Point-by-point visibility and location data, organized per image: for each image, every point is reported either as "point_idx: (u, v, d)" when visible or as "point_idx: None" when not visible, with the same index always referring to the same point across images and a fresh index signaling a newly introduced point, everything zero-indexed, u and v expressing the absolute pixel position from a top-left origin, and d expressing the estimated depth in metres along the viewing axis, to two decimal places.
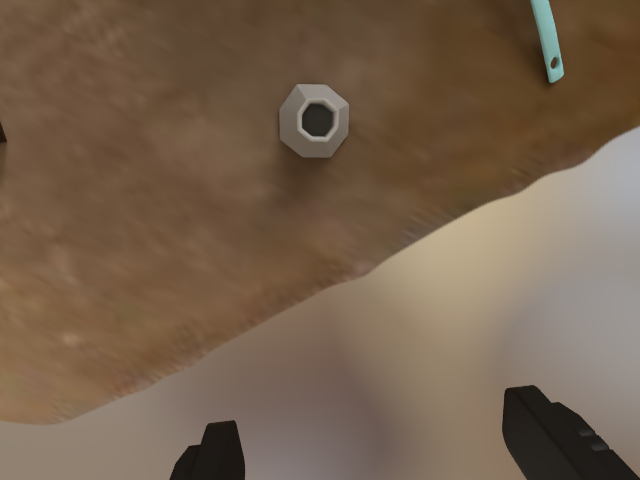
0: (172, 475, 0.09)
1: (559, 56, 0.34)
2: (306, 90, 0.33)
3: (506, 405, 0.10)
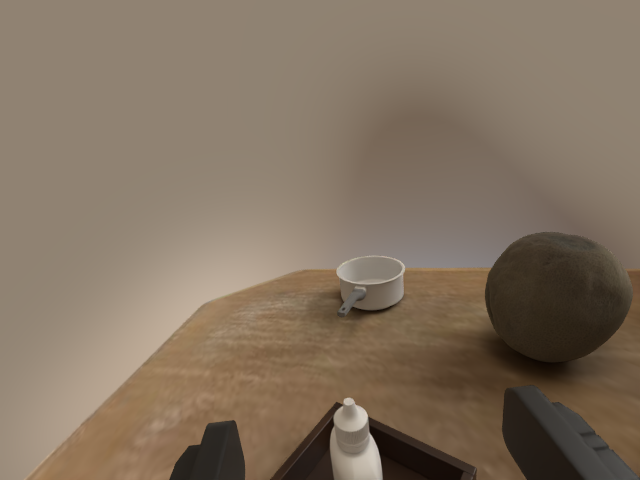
0: (172, 475, 0.09)
1: None
2: None
3: (506, 405, 0.10)
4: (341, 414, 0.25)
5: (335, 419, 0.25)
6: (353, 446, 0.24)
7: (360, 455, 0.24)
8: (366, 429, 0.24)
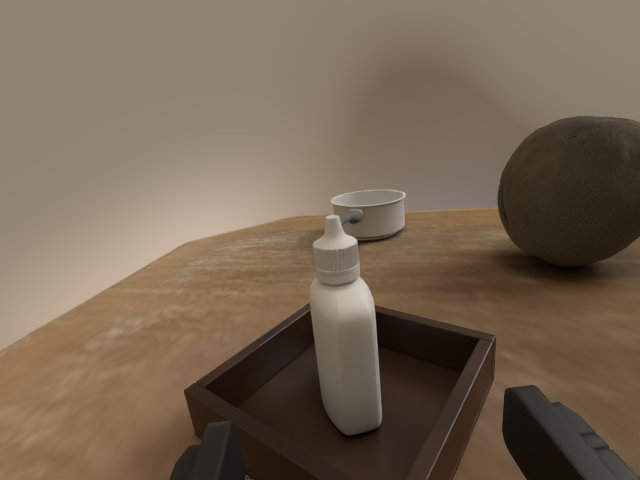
0: (172, 475, 0.09)
1: None
2: None
3: (506, 405, 0.10)
4: None
5: (314, 243, 0.19)
6: (337, 274, 0.18)
7: (347, 289, 0.19)
8: (355, 253, 0.19)
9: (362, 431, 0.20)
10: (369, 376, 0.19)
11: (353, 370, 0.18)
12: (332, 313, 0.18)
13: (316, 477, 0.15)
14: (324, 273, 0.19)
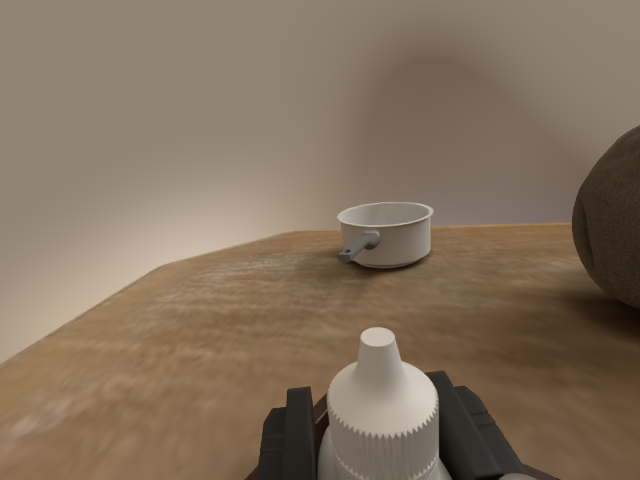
0: (263, 432, 0.10)
1: None
2: None
3: None
4: (352, 381, 0.08)
5: (332, 397, 0.08)
6: None
7: None
8: (435, 430, 0.07)
9: None
10: None
11: None
12: None
13: None
14: (357, 479, 0.07)
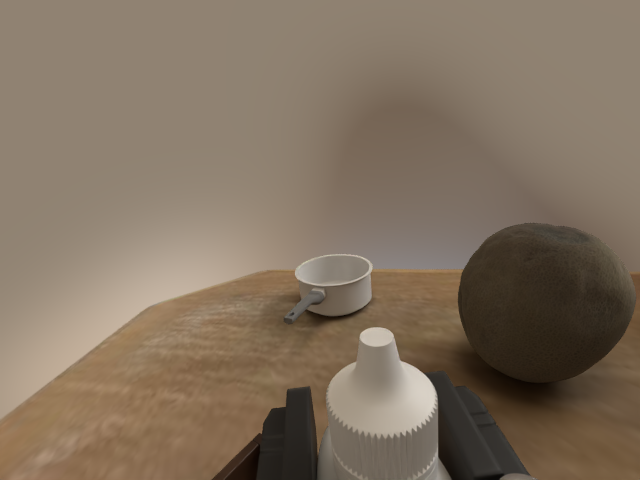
0: (263, 432, 0.10)
1: None
2: None
3: None
4: (351, 381, 0.08)
5: (332, 397, 0.08)
6: None
7: None
8: (434, 430, 0.07)
9: None
10: None
11: None
12: None
13: None
14: (356, 479, 0.07)
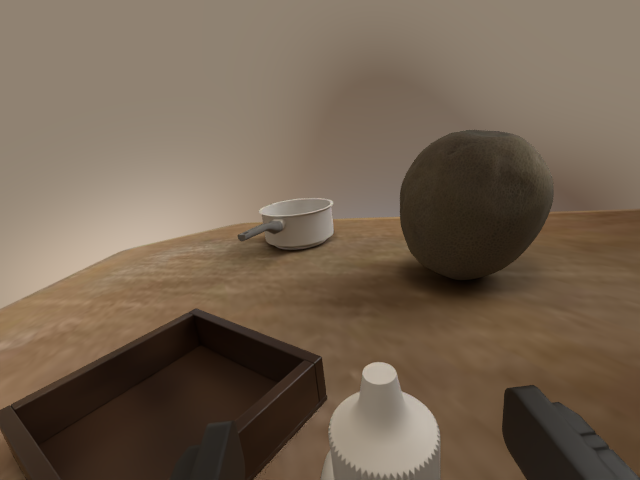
0: (172, 475, 0.09)
1: None
2: None
3: (506, 405, 0.10)
4: (354, 416, 0.08)
5: (334, 432, 0.08)
6: None
7: None
8: (436, 466, 0.07)
9: None
10: None
11: None
12: None
13: None
14: None
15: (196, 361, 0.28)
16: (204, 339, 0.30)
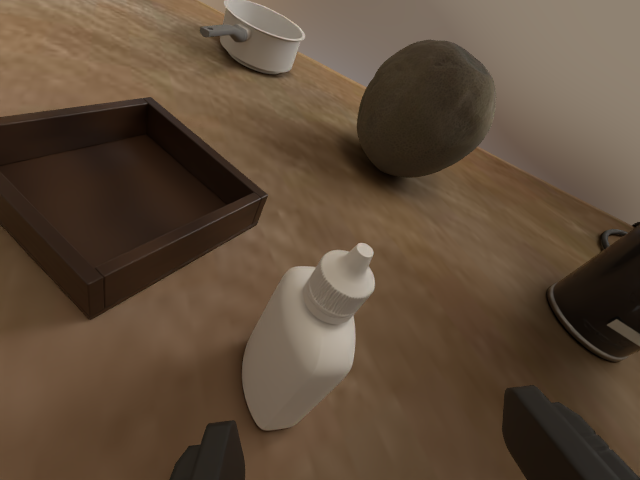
0: (172, 475, 0.09)
1: None
2: None
3: (506, 405, 0.10)
4: (338, 264, 0.14)
5: (324, 268, 0.14)
6: (335, 315, 0.14)
7: (336, 329, 0.15)
8: (366, 298, 0.14)
9: None
10: (312, 404, 0.17)
11: (300, 402, 0.16)
12: (311, 360, 0.14)
13: (40, 235, 0.18)
14: (319, 307, 0.14)
15: (142, 149, 0.30)
16: (153, 131, 0.30)
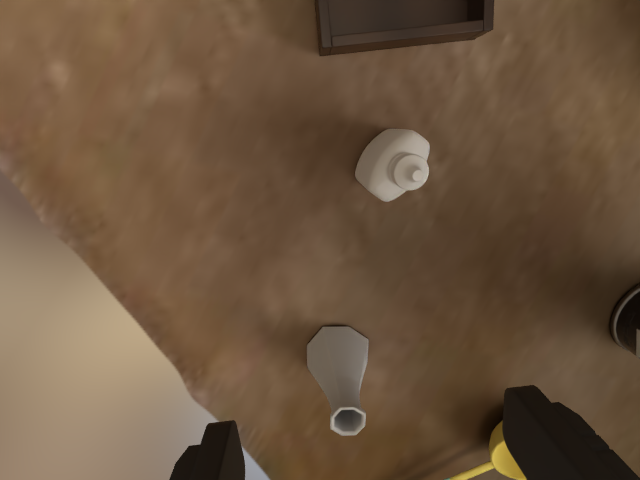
0: (172, 475, 0.09)
1: None
2: (364, 358, 0.38)
3: (506, 405, 0.10)
4: (406, 167, 0.23)
5: (400, 162, 0.24)
6: (393, 181, 0.25)
7: (393, 183, 0.26)
8: None
9: None
10: None
11: None
12: (372, 185, 0.27)
13: None
14: (389, 172, 0.25)
15: None
16: None
